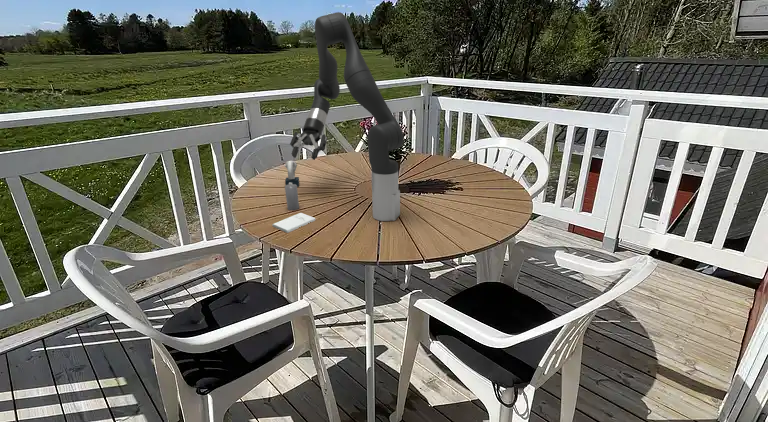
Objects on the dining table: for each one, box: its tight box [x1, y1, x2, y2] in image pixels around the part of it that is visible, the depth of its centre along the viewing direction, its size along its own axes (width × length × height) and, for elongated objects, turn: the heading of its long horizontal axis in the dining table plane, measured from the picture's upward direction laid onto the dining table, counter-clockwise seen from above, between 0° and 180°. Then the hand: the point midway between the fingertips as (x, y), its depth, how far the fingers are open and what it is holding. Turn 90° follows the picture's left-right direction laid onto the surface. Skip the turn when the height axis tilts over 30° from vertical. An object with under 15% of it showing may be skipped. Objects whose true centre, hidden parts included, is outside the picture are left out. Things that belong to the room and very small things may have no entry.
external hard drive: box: [272, 212, 316, 234], centre depth 138 cm, size 2×8×12 cm
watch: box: [284, 160, 300, 188], centre depth 171 cm, size 6×8×11 cm
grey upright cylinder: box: [284, 183, 300, 211], centre depth 148 cm, size 4×4×10 cm
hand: (303, 157), depth 152 cm, fingers open, 8 cm apart
